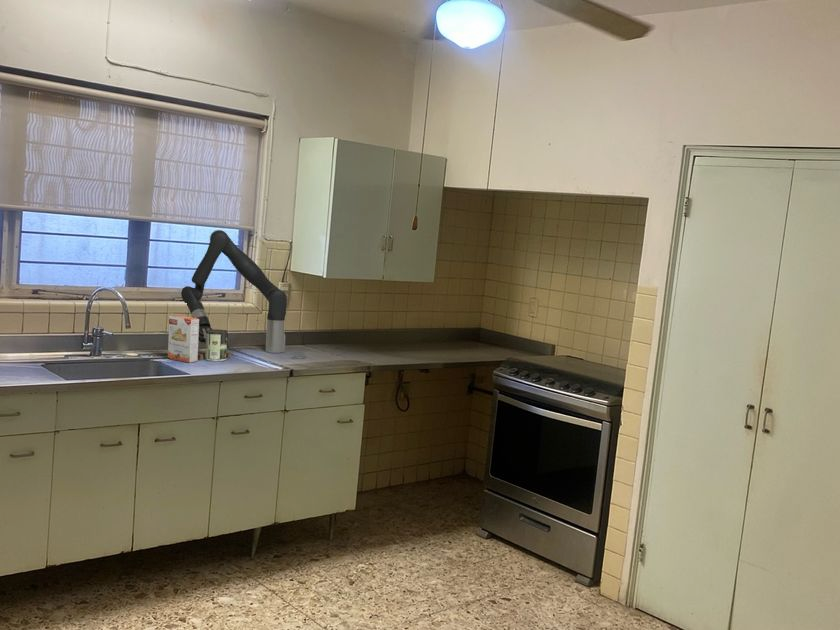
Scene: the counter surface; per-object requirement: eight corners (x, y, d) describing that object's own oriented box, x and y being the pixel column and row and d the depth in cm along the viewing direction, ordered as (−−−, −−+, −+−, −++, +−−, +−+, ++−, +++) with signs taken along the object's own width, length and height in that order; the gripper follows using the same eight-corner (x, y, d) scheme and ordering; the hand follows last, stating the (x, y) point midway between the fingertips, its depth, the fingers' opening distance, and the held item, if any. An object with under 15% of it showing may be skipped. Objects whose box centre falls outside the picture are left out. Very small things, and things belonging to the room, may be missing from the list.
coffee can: (222, 357, 393) (223, 329, 391) (229, 360, 384) (230, 332, 382) (201, 357, 387) (203, 329, 385) (208, 361, 378) (209, 332, 377)
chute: (220, 354, 398) (220, 350, 398) (230, 358, 391) (230, 353, 391) (190, 356, 388) (191, 351, 387) (200, 360, 380) (200, 355, 380)
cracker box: (166, 359, 377) (168, 315, 375) (176, 357, 382) (177, 314, 380) (188, 363, 371) (190, 319, 368) (198, 361, 376) (199, 318, 374)
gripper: (190, 315, 390) (200, 344, 382) (215, 315, 399) (225, 343, 391) (185, 324, 395) (195, 353, 387) (210, 324, 403) (220, 352, 396)
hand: (210, 348), depth 389 cm, fingers closed
